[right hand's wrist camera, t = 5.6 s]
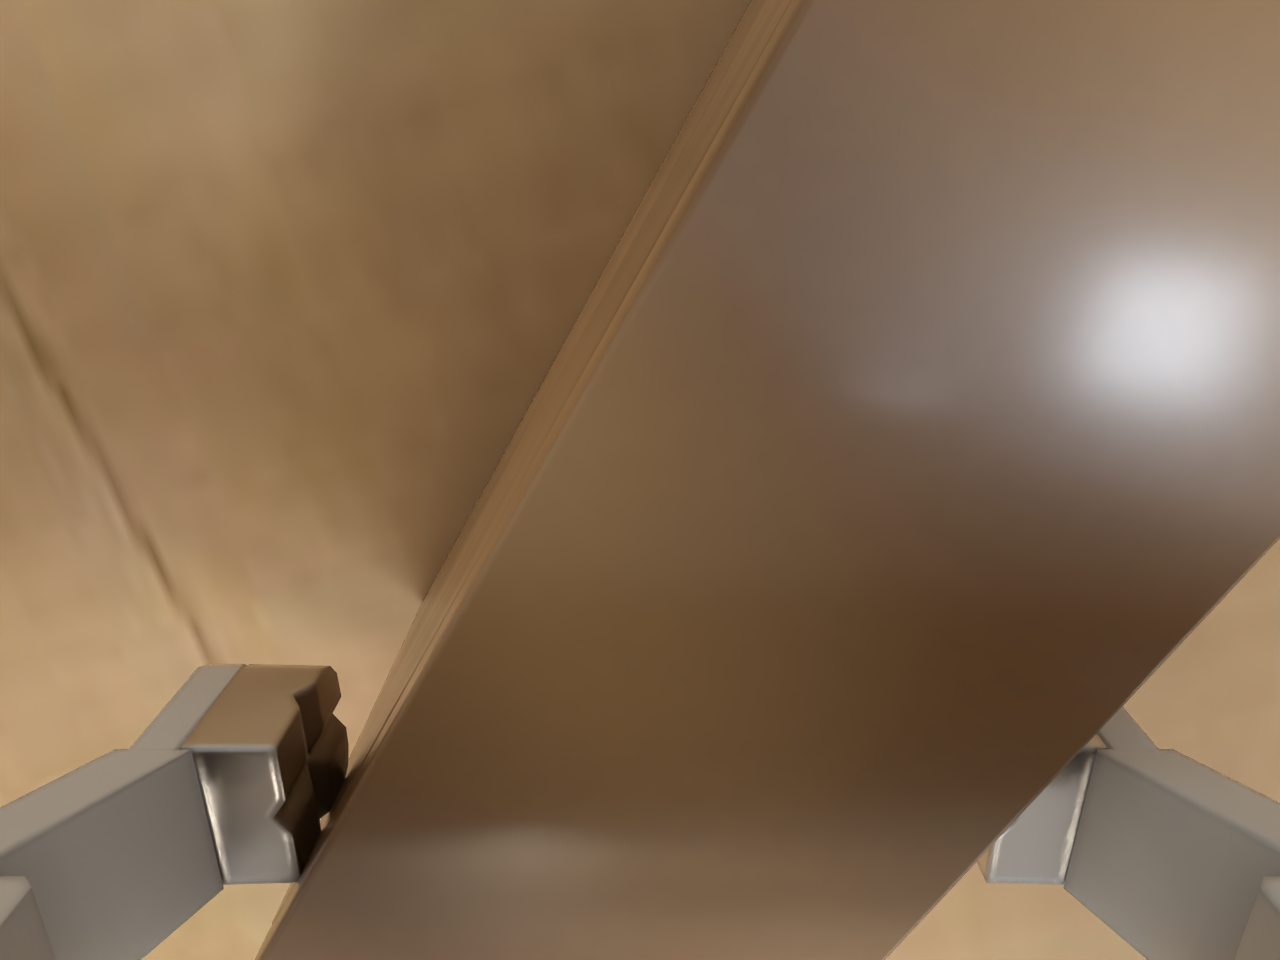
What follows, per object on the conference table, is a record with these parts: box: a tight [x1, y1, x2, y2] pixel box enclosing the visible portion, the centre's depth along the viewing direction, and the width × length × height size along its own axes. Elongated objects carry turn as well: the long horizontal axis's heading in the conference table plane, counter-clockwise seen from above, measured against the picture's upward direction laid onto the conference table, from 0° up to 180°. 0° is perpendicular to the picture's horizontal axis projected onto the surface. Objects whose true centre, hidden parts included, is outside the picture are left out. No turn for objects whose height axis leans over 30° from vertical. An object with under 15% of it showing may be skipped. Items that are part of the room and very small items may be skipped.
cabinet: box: [255, 0, 1280, 960], centre depth 10 cm, size 19×6×8 cm, turn 150°
